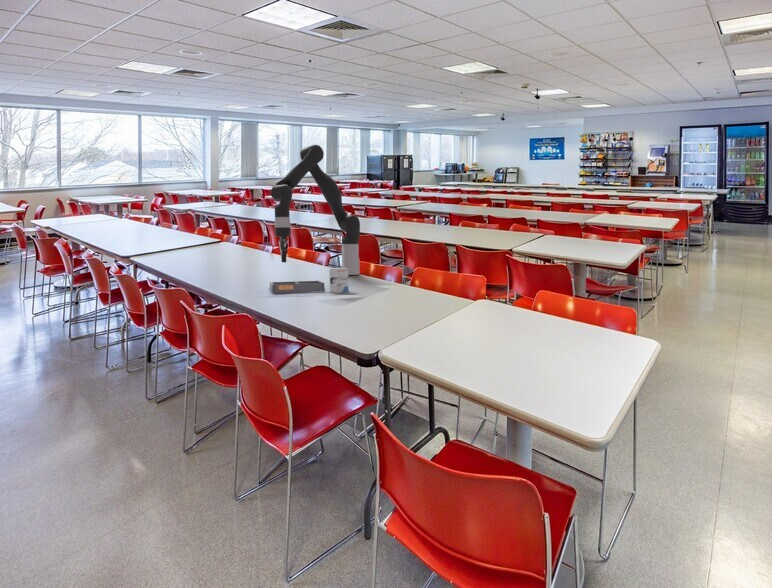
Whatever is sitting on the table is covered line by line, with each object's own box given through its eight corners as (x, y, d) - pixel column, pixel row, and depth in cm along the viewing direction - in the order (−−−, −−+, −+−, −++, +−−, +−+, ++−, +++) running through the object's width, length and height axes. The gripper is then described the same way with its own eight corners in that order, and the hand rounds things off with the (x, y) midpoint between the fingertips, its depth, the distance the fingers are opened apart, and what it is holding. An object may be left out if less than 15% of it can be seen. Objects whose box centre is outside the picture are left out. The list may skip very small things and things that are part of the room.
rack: (318, 289, 249) (318, 280, 249) (324, 291, 236) (324, 282, 236) (269, 290, 241) (269, 282, 240) (272, 293, 228) (272, 284, 228)
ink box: (341, 291, 240) (341, 267, 239) (348, 291, 237) (348, 267, 235) (329, 292, 233) (328, 268, 232) (336, 293, 230) (335, 268, 229)
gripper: (292, 226, 229) (293, 262, 231) (288, 227, 241) (289, 261, 243) (276, 226, 226) (278, 263, 228) (273, 227, 239) (274, 262, 241)
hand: (284, 262), depth 236 cm, fingers closed
